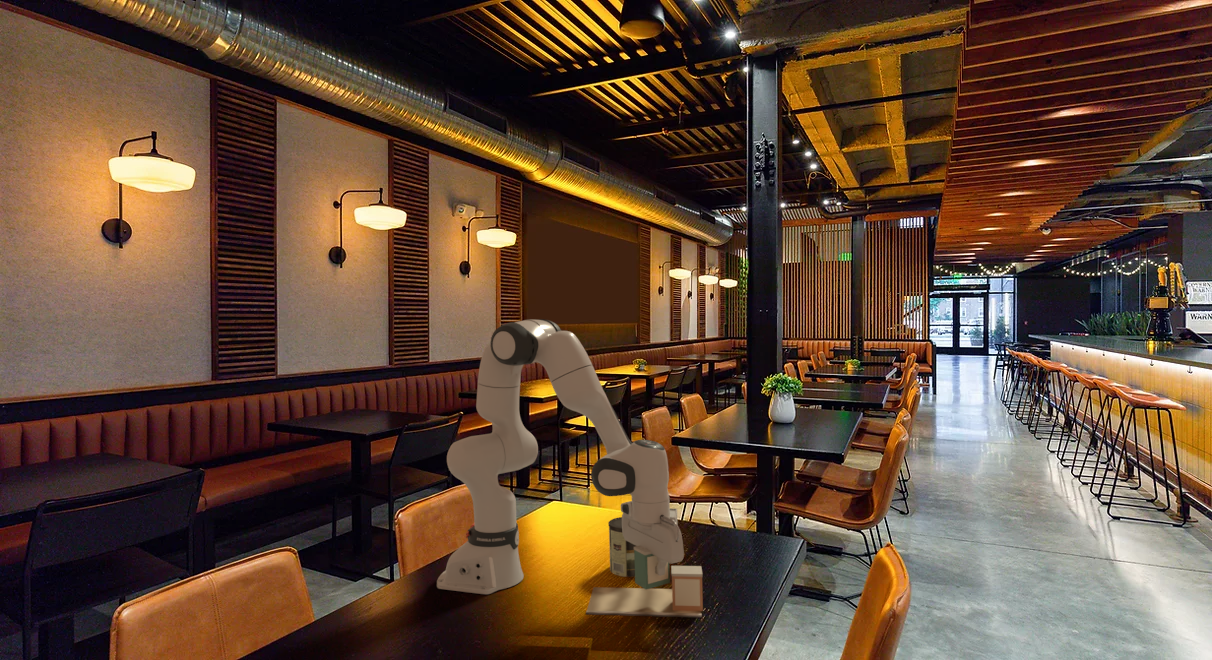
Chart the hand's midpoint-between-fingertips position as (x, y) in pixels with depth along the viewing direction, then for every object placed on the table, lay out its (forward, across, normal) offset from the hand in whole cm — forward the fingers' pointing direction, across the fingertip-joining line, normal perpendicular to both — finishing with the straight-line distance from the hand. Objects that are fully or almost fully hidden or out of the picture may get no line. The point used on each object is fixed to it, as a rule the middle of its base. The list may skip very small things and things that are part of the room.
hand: (652, 570), depth 137 cm
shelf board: (+10, +3, 0) cm, 10 cm away
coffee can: (+10, +21, -7) cm, 24 cm away
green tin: (+3, 0, 0) cm, 3 cm away
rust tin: (+8, -5, -6) cm, 11 cm away
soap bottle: (+10, +26, -22) cm, 35 cm away
